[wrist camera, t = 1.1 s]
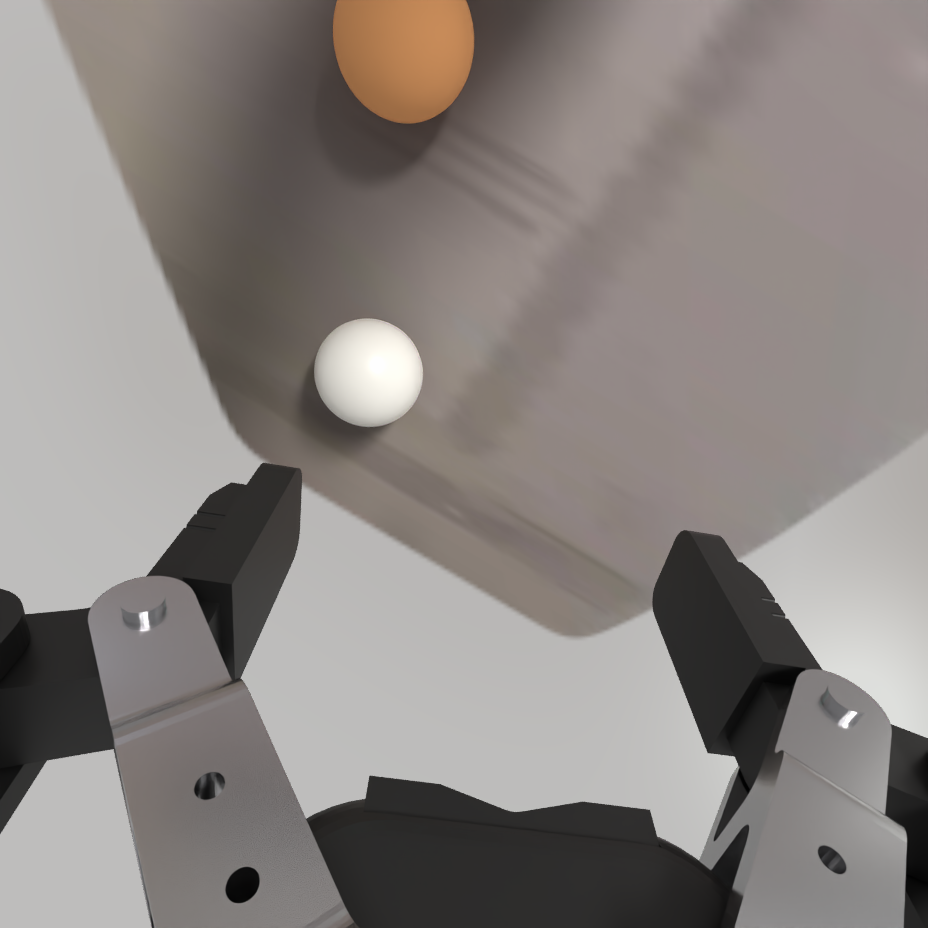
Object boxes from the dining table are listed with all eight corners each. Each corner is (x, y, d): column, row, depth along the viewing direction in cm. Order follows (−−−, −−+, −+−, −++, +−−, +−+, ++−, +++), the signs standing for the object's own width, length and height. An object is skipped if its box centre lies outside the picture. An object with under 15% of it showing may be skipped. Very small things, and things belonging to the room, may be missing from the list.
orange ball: (354, -44, 23) (321, -94, 18) (486, -14, 23) (487, -55, 19) (344, 111, 26) (312, 104, 21) (462, 136, 26) (458, 135, 21)
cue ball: (331, 297, 30) (303, 326, 25) (434, 317, 30) (425, 349, 26) (325, 392, 33) (298, 434, 28) (419, 409, 33) (409, 454, 28)
